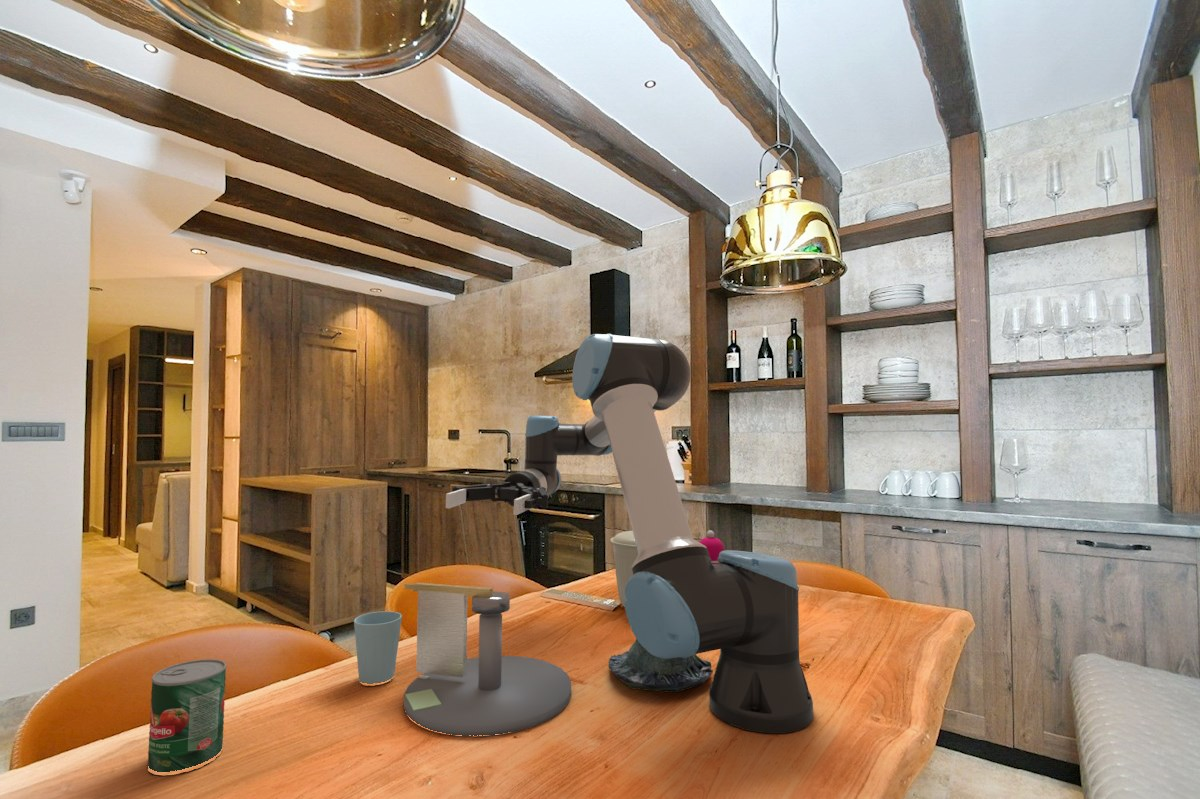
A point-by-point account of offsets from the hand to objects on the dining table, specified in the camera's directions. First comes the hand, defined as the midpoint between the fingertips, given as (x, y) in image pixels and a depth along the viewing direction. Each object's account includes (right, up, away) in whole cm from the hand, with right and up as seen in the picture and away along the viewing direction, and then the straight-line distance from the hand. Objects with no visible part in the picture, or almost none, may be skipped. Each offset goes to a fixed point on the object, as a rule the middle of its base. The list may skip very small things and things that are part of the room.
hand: (481, 504), depth 105 cm
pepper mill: (+47, -31, +26) cm, 63 cm away
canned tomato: (-31, -27, -32) cm, 52 cm away
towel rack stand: (-2, -26, -11) cm, 28 cm away
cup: (-16, -29, -7) cm, 34 cm away
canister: (+33, -32, +35) cm, 58 cm away
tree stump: (+32, -29, -5) cm, 44 cm away
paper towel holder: (+4, -28, -13) cm, 31 cm away
